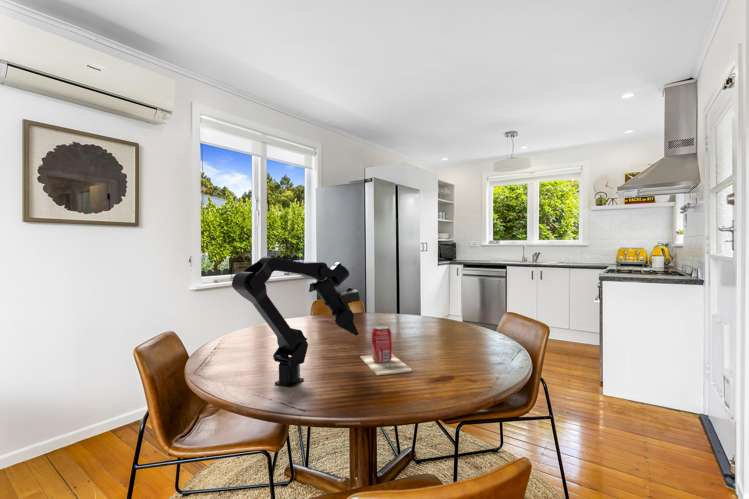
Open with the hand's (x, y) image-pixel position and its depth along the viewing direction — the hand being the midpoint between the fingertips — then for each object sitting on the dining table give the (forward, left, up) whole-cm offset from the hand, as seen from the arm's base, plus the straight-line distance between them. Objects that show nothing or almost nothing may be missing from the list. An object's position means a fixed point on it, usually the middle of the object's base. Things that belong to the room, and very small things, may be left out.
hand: (355, 330), depth 128 cm
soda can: (+7, -7, -12) cm, 15 cm away
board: (+6, -8, -12) cm, 16 cm away
